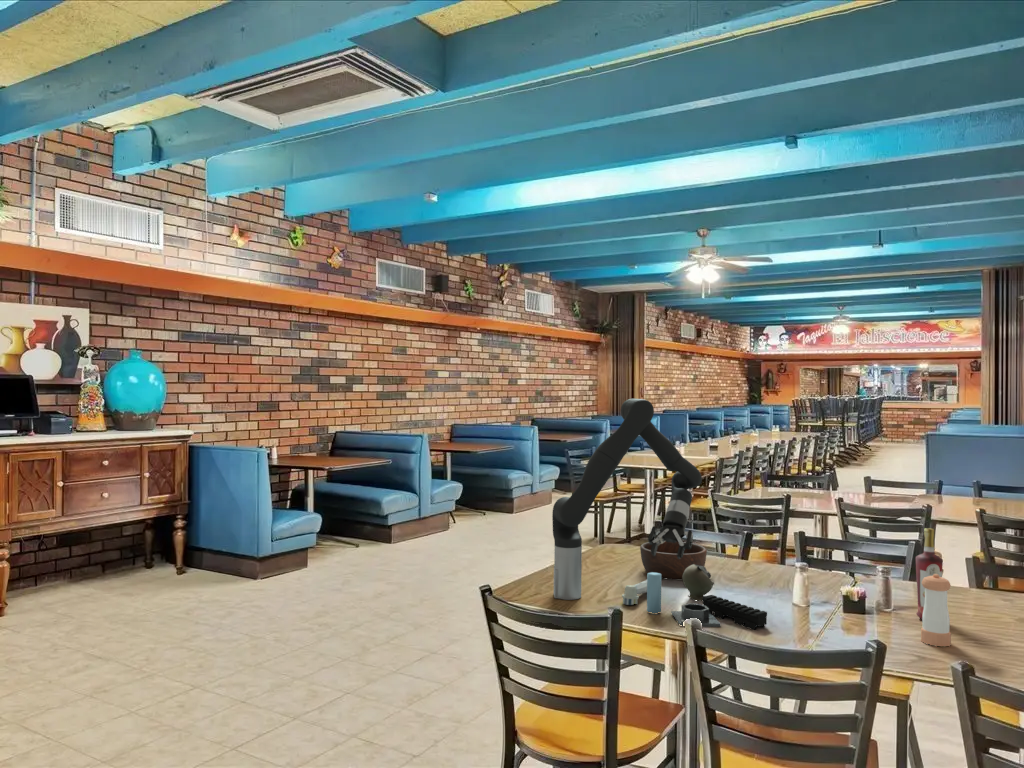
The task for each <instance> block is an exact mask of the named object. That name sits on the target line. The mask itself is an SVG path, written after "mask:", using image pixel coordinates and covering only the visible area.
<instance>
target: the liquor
mask: <svg viewBox="0 0 1024 768" xmlns="http://www.w3.org/2000/svg"><path fill="white" fill-rule="evenodd" d="M923 529H924V531H923V535H924V546H923V552H922V553H920V554H918V555H916V556H915V573H916V574H915V576H916V588H917V589H916V592H917V593H916V594H917V595H916V596H917V611H916V616H917V617H919V619H920V620H922V615H923V610H924V604H925V587H923V585H922V580H923V579H924V577H927V576H933V574H938V575H939V577H943V567H944V566H943V565H944V564H943V563H944V562H943V561H944V560H943V559H942V557H940V556H939V555H937V554H936V553H935V552H936V551H935V543H934V541H935V540H934V538H935V529H934V528H931V527H927V528H926V527H925V528H923Z"/></svg>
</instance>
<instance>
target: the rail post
mask: <svg viewBox="0 0 1024 768" xmlns="http://www.w3.org/2000/svg"><path fill="white" fill-rule="evenodd" d="M646 574H647V575H646V580H647V592H646V612H647V611H648V612H652V613H658V612H661V613H662V578H661V574H660V573H654V572H652V573H647V572H646Z"/></svg>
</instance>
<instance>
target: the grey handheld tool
mask: <svg viewBox="0 0 1024 768" xmlns="http://www.w3.org/2000/svg"><path fill="white" fill-rule="evenodd" d="M646 593H647V579H645V580H643V581H641V582H638V583H636V584H632V585H631V584H629V585H625V587H624V594H623V593H622V594H621V598H622V604H623V605H627V606H633V605H634V604H637V605H638V601H639V598H640V596H639V595H640V594H646Z"/></svg>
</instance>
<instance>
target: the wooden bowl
mask: <svg viewBox="0 0 1024 768" xmlns="http://www.w3.org/2000/svg"><path fill="white" fill-rule="evenodd" d="M682 542H683V543H684V544H685V543H686V541H682ZM651 547H652V545H650V543H649V541H648V542H644V543H642V544H641V545H640V547H639V551H640V556H641V557H640V558H641V562H642V566H643V567H644V570H645V571H646V574H647V573H652V572H654V573H660V574H661V579H664V578H667V579H666V580H673V579H682V576H683V573H684V571H685V569H686V568H687V567H689V566H691V565H693V563H694V564H695V565H699V566H704V567H706V562H707V561H706V560H707V555H708V554H707V553H708V550H707V548H706V547H705V546H703V545H701V544H700V545H699V544H697V543H693V542H692V546H691V549H685V550H684V553H683V557H682V558H680V559H678V558H677V553H678V549H679V544H678V542H675V543H672V542H666V541H665V542H664V543H663V544H660V545H659V546H657V547H658V548H657V552H656V555H655V556H653V555H652V553H651Z"/></svg>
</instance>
